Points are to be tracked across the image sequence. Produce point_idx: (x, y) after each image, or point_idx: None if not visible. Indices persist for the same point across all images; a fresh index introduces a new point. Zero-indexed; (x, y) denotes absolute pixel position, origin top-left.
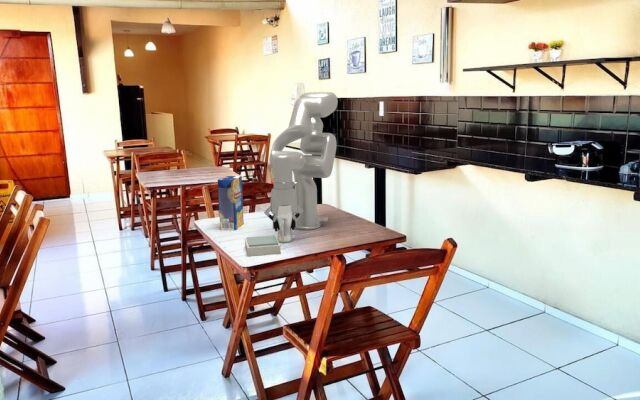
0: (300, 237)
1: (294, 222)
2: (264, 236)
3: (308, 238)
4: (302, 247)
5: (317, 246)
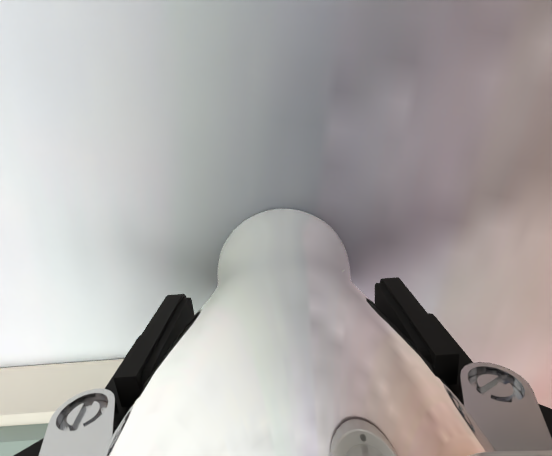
0: (435, 187)
1: None
2: None
3: (496, 231)
4: None
5: None
